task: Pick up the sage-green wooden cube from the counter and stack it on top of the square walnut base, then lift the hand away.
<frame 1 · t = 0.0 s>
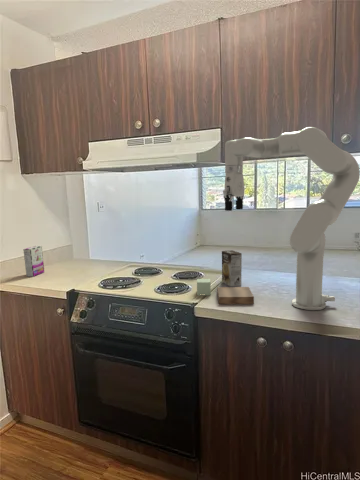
hand: (234, 209, 144), 37 cm above the counter, tool pointing down, fingers open, 9 cm apart
walnut base: (234, 298, 140), on the counter
sage block: (203, 293, 149), on the counter
candy bar box: (35, 274, 194), on the counter
coffee box: (231, 284, 163), on the counter
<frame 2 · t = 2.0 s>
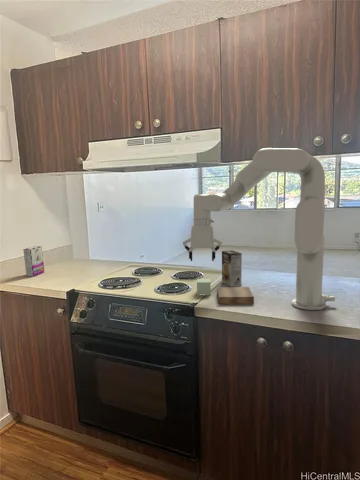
hand: (202, 260, 147), 15 cm above the counter, tool pointing down, fingers open, 9 cm apart
nothing on the counter moved.
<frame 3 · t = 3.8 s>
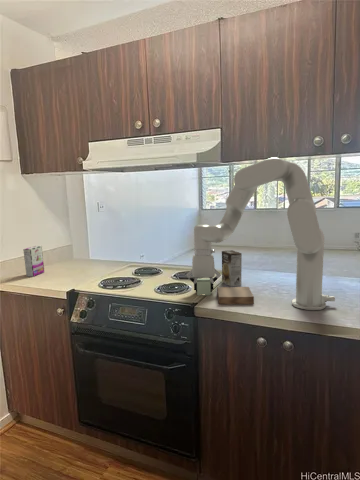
hand: (203, 291, 148), 1 cm above the counter, tool pointing down, fingers closed on sage block, 6 cm apart
sage block: (203, 293, 149), on the counter, touching gripper
everything else where it was.
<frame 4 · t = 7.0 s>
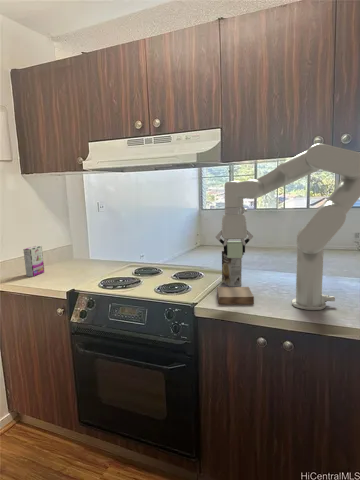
hand: (234, 254, 137), 19 cm above the counter, tool pointing down, fingers closed on sage block, 6 cm apart
sage block: (234, 256, 137), point 18 cm above the counter, touching gripper
everything else where it was.
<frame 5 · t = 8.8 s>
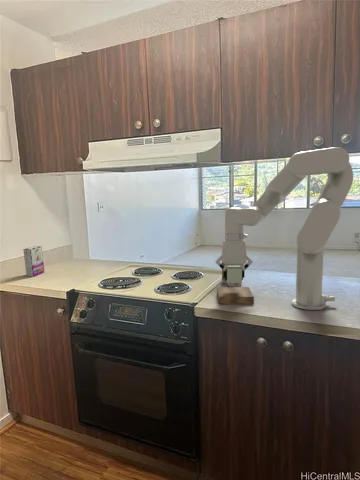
hand: (233, 278, 139), 9 cm above the counter, tool pointing down, fingers closed on sage block, 6 cm apart
sage block: (233, 281, 139), point 8 cm above the counter, touching gripper
everything else where it was.
when the fingers open (5 cm above the counter, at t = 10.4 s): sage block drops 1 cm, resting on walnut base.
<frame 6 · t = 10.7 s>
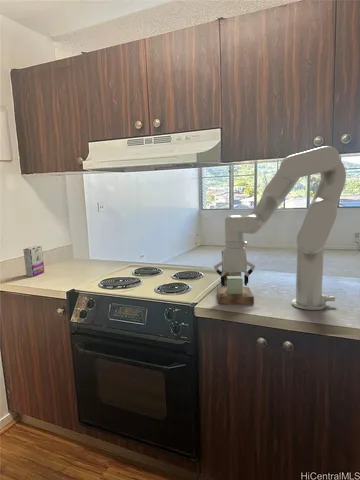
hand: (234, 284, 139), 6 cm above the counter, tool pointing down, fingers open, 9 cm apart
sage block: (234, 291, 139), point 3 cm above the counter, touching walnut base
everything else where it was.
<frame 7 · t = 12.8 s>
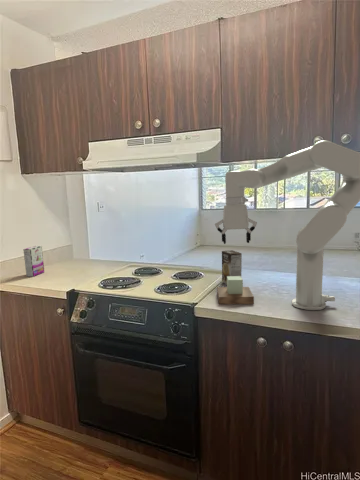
hand: (236, 242, 137), 24 cm above the counter, tool pointing down, fingers open, 9 cm apart
nothing on the counter moved.
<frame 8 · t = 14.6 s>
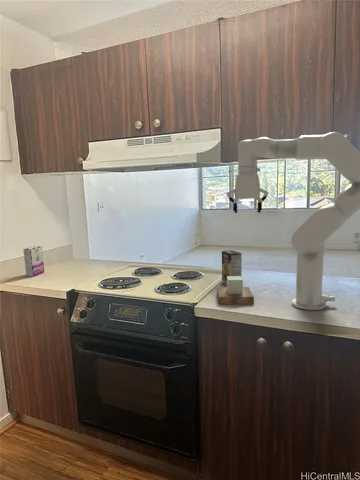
hand: (247, 212, 138), 36 cm above the counter, tool pointing down, fingers open, 9 cm apart
nothing on the counter moved.
at the end: sage block inside the target area on the walnut base (0.1 cm from its centre), point 3.0 cm above the walnut base's base; sage block tilted 0°; the gripper is holding nothing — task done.
